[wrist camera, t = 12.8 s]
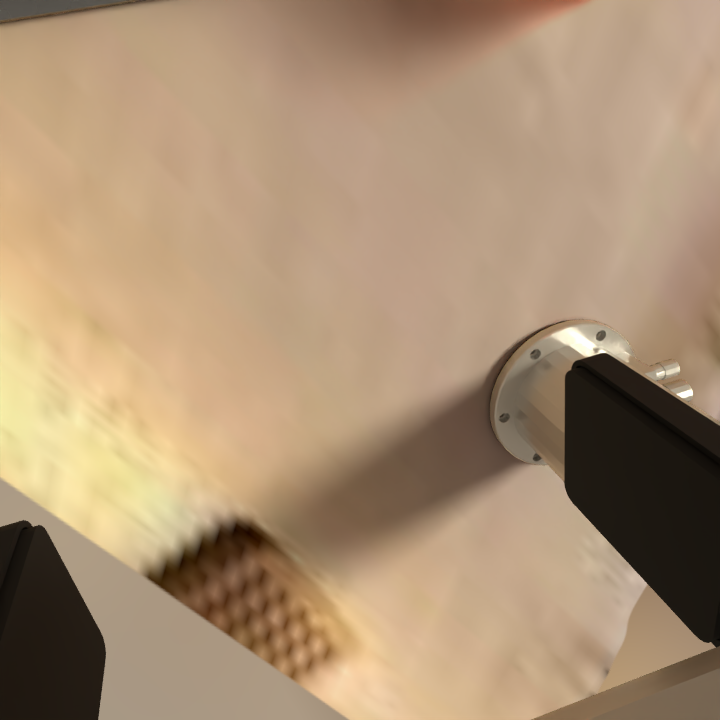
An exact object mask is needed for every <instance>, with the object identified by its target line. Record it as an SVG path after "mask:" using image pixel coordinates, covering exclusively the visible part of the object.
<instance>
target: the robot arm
mask: <svg viewBox="0 0 720 720" xmlns="http://www.w3.org/2000/svg"><path fill="white" fill-rule="evenodd" d="M679 372H680V367H679V365H678V363H677V362H676V361H675V360H674V359H669V360H665V361H662V362H659V363H656V364H655V365H652V366H648V365H647V364H644V363H643V362H641V361H639V360H638V359H636V358H635V355H634V352H633V349H632V348H631V346H630V344H629V343H628V341H627V340H626V339H625V338H624V337H623V336H622V335H621V334H620V333H619V332H617V331H615V330H614V329H612V328H611V327H609V326H607V325H605V324H602V323H599V322H597V321H591V320H584V319H582V320H570V321H566V322H562V323H558V324H555V325H553V326H551V327H548V328H546V329H544V330H542V331H540V332H539V333H537V334H536V335H534V336H533V337H531V338H530V339H528V340H527V341H526V342H525V343H524V344H523V345H522V346H521V347H520V348H518V349H517V350H516V351H515V353H514V354H513V355H512V356H511V358H510V359H509V360H508V361H507V363H506V364H505V365H504V367H503V369H502V371H501V372H500V374H499V376H498V378H497V380H496V383H495V386H494V388H493V391H492V396H491V402H490V420H491V424H492V429H493V431H494V433H495V435H496V437H497V439H498V441H499V442H500V443H501V444H502V445H503V447H504V448H505V449H506V450H507V451H508V452H509V453H510V454H512V455H513V456H514V457H515V458H517V459H519V460H521V461H523V462H526V463H530V464H534V465H549V466H550V468H551V469H552V470H553V471H554V472H555V473H556V474H557V475H558V476H559V477H560V478H561V479H562V480H563V481H564V483H565V489H566V492H567V494H568V496H569V498H570V500H571V501H572V502H573V504H574V505H575V506H576V507H577V508H578V509H579V510H580V511H581V512H582V513H583V514H584V516H585V517H586V518H587V519H588V520H589V521H590V522H591V523H592V524H593V525H594V526H595V527H596V529H597V530H598V531H599V532H600V533H601V534H602V535H603V536H604V537H605V538H606V539H607V540H608V542H609V543H610V544H611V545H612V546H613V547H614V548H615V549H616V550H617V551H618V552H619V553H620V554H621V556H622V557H623V558H624V559H625V560H626V561H627V562H628V563H629V564H630V565H631V566H632V567H633V569H634V570H635V571H636V572H637V573H638V574H639V575H640V576H641V577H642V578H643V579H644V580H645V582H646V583H647V584H648V585H649V586H650V587H651V588H652V589H653V590H654V591H655V592H656V593H657V594H658V596H659V597H660V598H661V599H662V600H663V601H664V602H665V603H666V604H667V605H668V606H669V607H670V608H671V610H672V611H673V612H674V613H675V614H676V615H677V616H678V617H679V618H680V619H681V620H682V622H683V623H684V624H685V625H686V626H687V627H688V628H689V629H690V630H691V631H692V632H693V633H694V635H696V636H697V637H698V638H699V639H700V640H702V641H703V642H707V643H709V642H712V643H713V645H714V646H715V647H716V648H714V649H711V650H708V651H706V652H703V653H701V654H698V655H696V656H693V657H691V658H688V659H685V660H683V661H680V662H678V663H675V664H673V665H670V666H667V667H665V668H662V669H660V670H657V671H655V672H652V673H649V674H647V675H644V676H642V677H639V678H637V679H634V680H632V681H629V682H627V683H624V684H621V685H619V686H616V687H614V688H611V689H609V690H606V691H604V692H601V693H598V694H596V695H593V696H590V697H588V698H585V699H583V700H580V701H578V702H575V703H573V704H570V705H567V706H565V707H562V708H560V709H557V710H555V711H552V712H550V713H547V714H545V715H542V716H540V717H537V718H534V719H532V720H720V422H719V421H718V420H716V419H714V418H713V417H711V416H710V415H708V414H707V413H705V412H704V411H702V410H700V409H699V408H697V407H696V406H694V405H693V404H691V403H689V401H691V400H692V396H693V393H692V389H691V387H690V385H689V384H688V383H687V382H686V381H685V380H682V379H679V380H676V381H673V382H669V383H666V384H663V385H661V384H660V383H658V382H657V381H658V380H664V379H667V378H671V377H674V376H677V375H679ZM105 658H106V651H105V643H104V639H103V636H102V635H101V632H100V630H99V628H98V626H97V624H96V623H95V621H94V619H93V617H92V615H91V613H90V611H89V610H88V608H87V606H86V604H85V602H84V600H83V598H82V597H81V595H80V593H79V591H78V589H77V587H76V585H75V583H74V582H73V580H72V578H71V576H70V574H69V572H68V570H67V568H66V566H65V565H64V563H63V561H62V559H61V557H60V555H59V553H58V552H57V550H56V548H55V546H54V544H53V542H52V540H51V539H50V537H49V535H48V533H47V531H46V530H45V528H44V527H43V526H40V525H38V526H34V527H33V526H31V524H30V523H29V522H28V521H24V520H23V521H19V522H16V523H13V524H9V525H5V526H2V527H0V720H98V716H99V707H100V700H101V691H102V682H103V674H104V667H105Z"/></svg>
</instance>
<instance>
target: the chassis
mask: <svg viewBox="0 0 720 720" xmlns="http://www.w3.org/2000/svg"><path fill="white" fill-rule="evenodd" d="M138 1H144V0H0V23H3V22H9V21H15V20H22V19H28V18H35V17H41V16H48V15H54V14H60V13H67V12H73V11H80V10H86V9H93V8H99V7H105V6H112V5H118V4H125V3H131V2H138Z"/></svg>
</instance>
